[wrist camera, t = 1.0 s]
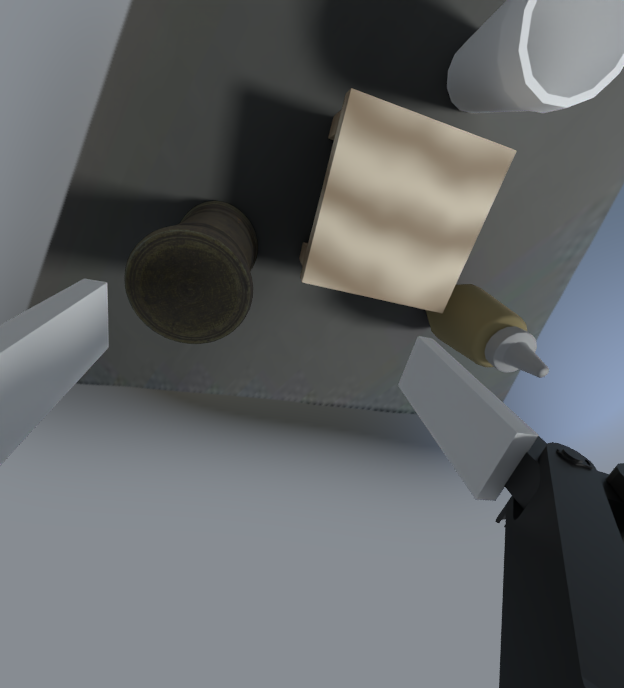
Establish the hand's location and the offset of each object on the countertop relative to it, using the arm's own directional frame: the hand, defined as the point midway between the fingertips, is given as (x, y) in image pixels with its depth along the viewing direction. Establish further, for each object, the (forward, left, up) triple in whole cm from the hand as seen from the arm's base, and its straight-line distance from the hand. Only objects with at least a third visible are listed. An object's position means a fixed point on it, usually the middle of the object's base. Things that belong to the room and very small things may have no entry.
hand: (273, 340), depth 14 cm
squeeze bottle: (+3, +26, -28) cm, 38 cm away
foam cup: (-21, +18, -28) cm, 39 cm away
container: (+2, -5, -28) cm, 28 cm away
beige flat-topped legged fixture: (-6, +12, -28) cm, 31 cm away
